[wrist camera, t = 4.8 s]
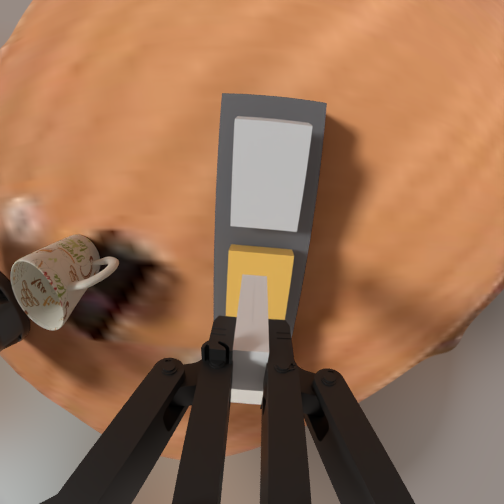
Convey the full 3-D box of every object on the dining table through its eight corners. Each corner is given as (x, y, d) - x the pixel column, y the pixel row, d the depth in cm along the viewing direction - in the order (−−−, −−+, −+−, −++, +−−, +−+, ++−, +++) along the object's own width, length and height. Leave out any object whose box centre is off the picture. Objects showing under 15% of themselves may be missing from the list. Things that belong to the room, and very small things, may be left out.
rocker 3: (225, 392, 29) (223, 401, 27) (227, 335, 27) (226, 343, 26) (268, 396, 29) (268, 405, 27) (277, 339, 27) (277, 347, 25)
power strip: (219, 389, 38) (215, 417, 33) (229, 100, 23) (220, 91, 18) (272, 393, 38) (272, 422, 33) (316, 108, 22) (329, 101, 17)
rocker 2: (227, 325, 25) (224, 335, 24) (231, 244, 23) (228, 250, 21) (280, 330, 25) (281, 340, 24) (292, 249, 23) (294, 256, 21)
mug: (51, 232, 29) (1, 266, 20) (123, 209, 27) (68, 245, 18) (74, 287, 32) (33, 330, 23) (146, 277, 31) (108, 330, 21)
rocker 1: (233, 216, 22) (230, 226, 21) (237, 116, 17) (234, 118, 16) (295, 221, 22) (296, 231, 21) (309, 122, 17) (312, 126, 16)
